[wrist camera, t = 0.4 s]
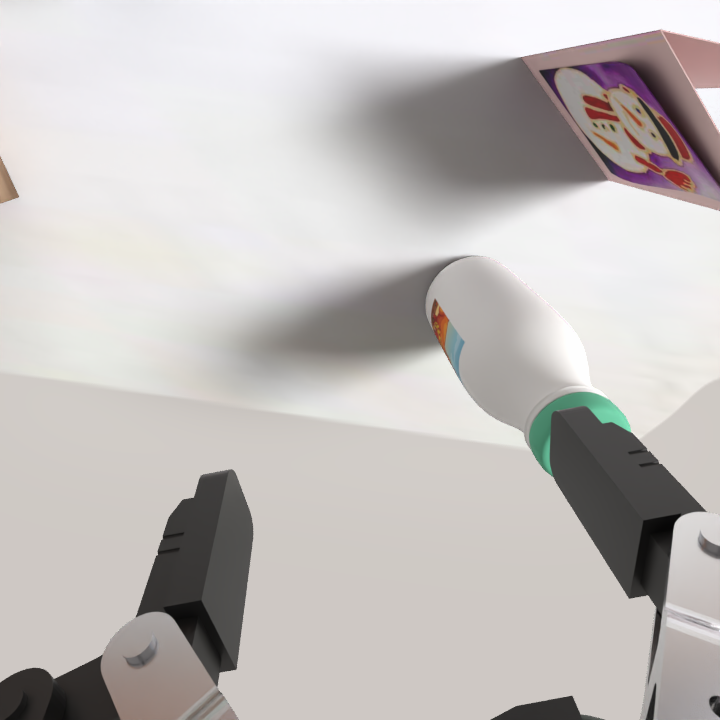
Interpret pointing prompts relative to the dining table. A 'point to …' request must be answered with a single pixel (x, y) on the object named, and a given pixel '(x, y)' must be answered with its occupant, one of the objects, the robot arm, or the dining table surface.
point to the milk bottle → (512, 350)
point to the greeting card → (641, 109)
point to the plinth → (6, 185)
